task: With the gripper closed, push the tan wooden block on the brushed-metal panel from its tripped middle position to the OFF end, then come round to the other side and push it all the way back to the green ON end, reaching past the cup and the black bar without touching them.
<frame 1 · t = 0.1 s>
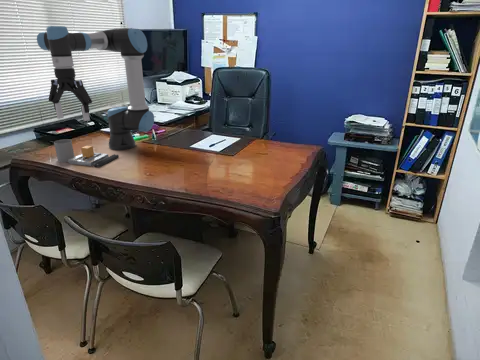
hand: (73, 119, 148), 28 cm above the table, fingers open, 13 cm apart
black bar: (105, 161, 180), on the table
tan wooden block: (87, 151, 180), point 5 cm above the table, slide at 0.0 cm
cup: (66, 159, 183), on the table
panel: (89, 160, 182), on the table
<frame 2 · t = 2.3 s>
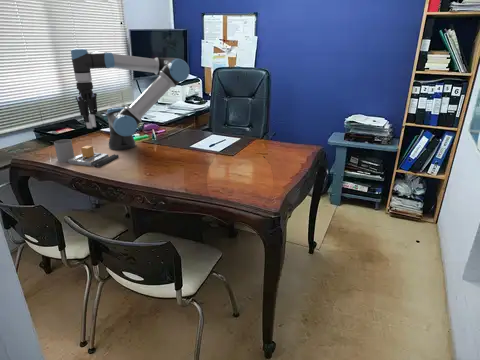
hand: (91, 127, 181), 17 cm above the table, fingers open, 3 cm apart
nothing on the table moved.
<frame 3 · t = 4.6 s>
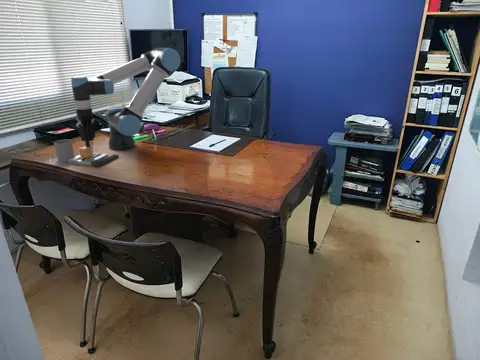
hand: (90, 152, 183), 4 cm above the table, fingers closed
tan wooden block: (85, 152, 179), point 5 cm above the table, slide at 1.4 cm, touching gripper
everything else where it was.
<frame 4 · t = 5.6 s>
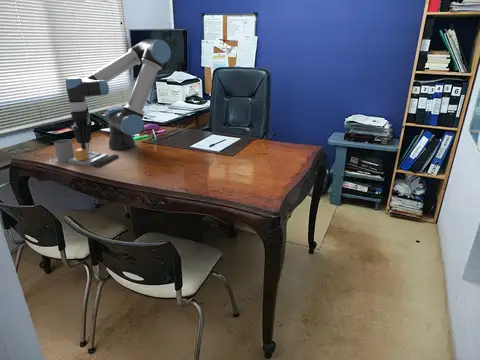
hand: (86, 154, 180), 3 cm above the table, fingers closed
tan wooden block: (81, 154, 176), point 5 cm above the table, slide at 5.0 cm, touching gripper
everything else where it was.
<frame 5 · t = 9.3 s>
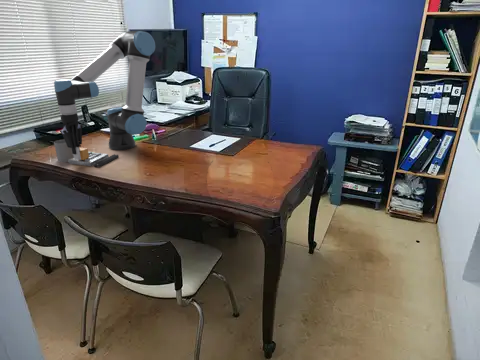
hand: (77, 159, 174), 3 cm above the table, fingers closed
tan wooden block: (82, 154, 177), point 5 cm above the table, slide at 3.9 cm, touching gripper
everything else where it was.
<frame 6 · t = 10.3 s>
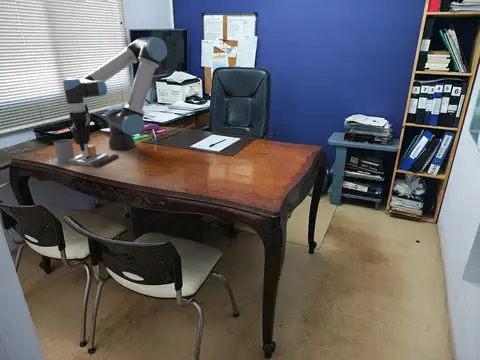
hand: (85, 156, 179), 3 cm above the table, fingers closed
tan wooden block: (90, 150, 182), point 5 cm above the table, slide at -1.9 cm, touching gripper
everything else where it was.
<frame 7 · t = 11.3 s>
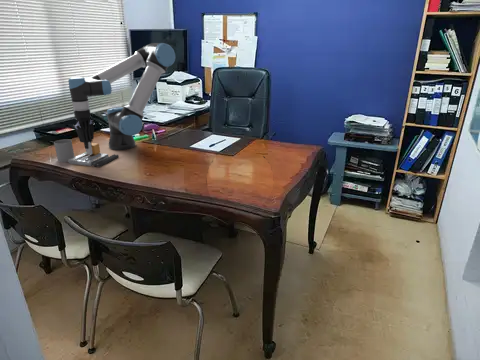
hand: (89, 153, 181), 3 cm above the table, fingers closed
tan wooden block: (94, 149, 185), point 5 cm above the table, slide at -5.0 cm, touching gripper
everything else where it was.
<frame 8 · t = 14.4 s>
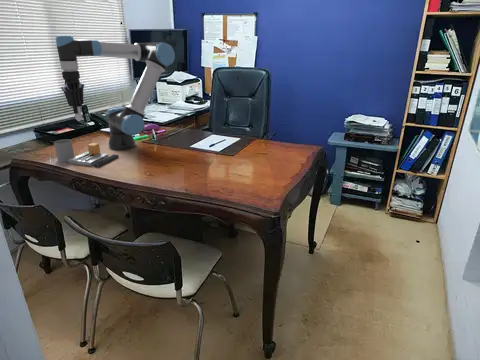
hand: (79, 119, 171), 22 cm above the table, fingers closed
tan wooden block: (94, 149, 185), point 5 cm above the table, slide at -5.0 cm
everything else where it was.
at the end: tan wooden block slide at -5.0 cm; cup moved 0.2 cm from its start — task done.
